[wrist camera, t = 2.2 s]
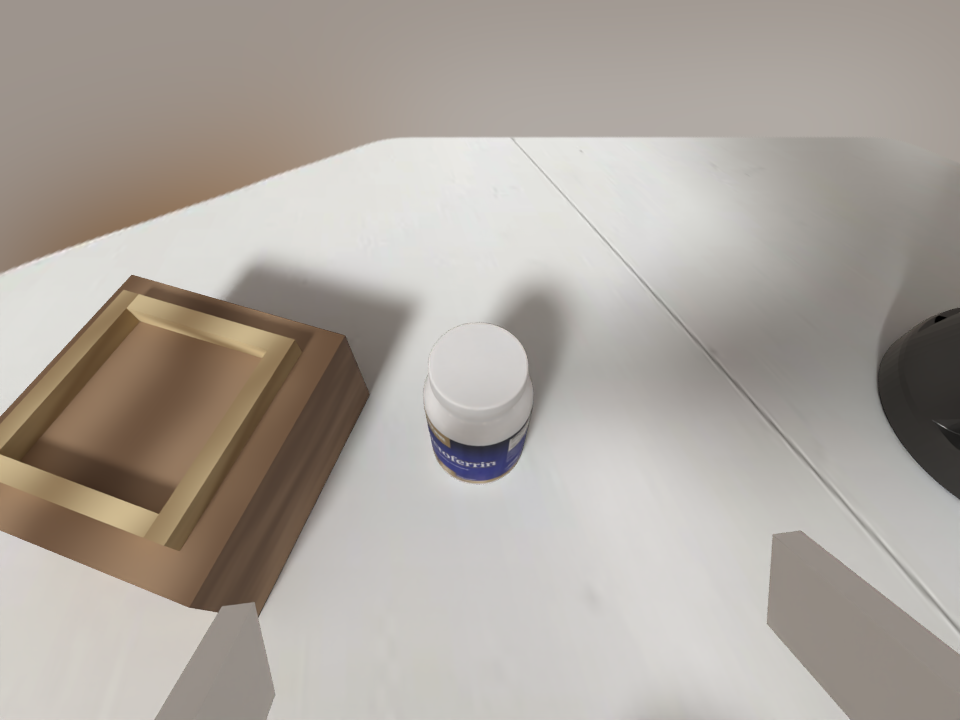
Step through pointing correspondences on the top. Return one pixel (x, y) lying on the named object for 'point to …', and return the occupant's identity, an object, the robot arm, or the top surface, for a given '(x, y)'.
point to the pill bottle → (478, 402)
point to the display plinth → (179, 443)
